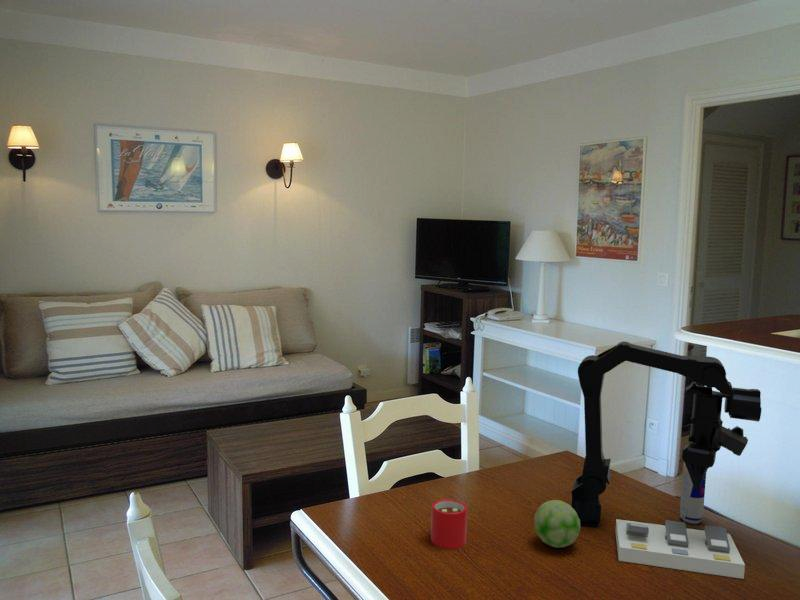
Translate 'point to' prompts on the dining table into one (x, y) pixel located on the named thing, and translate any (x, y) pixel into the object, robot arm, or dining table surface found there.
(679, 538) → the grey box
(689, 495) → the beverage can
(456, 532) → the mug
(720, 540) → the block
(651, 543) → the console
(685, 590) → the dining table surface
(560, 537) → the decorative ball
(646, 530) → the block
